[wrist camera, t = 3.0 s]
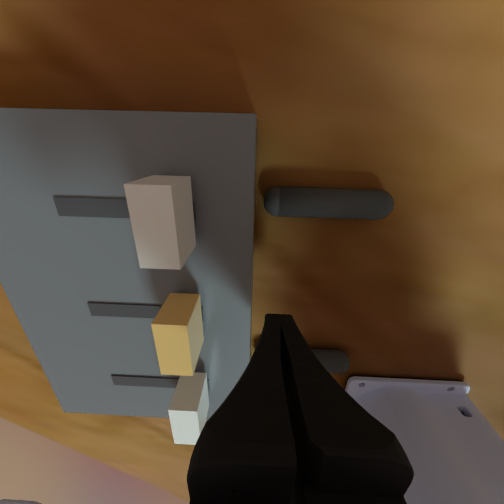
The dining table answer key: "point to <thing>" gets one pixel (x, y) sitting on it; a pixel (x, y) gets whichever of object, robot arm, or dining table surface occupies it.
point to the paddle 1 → (162, 220)
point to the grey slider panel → (124, 248)
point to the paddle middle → (178, 334)
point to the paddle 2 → (189, 408)
